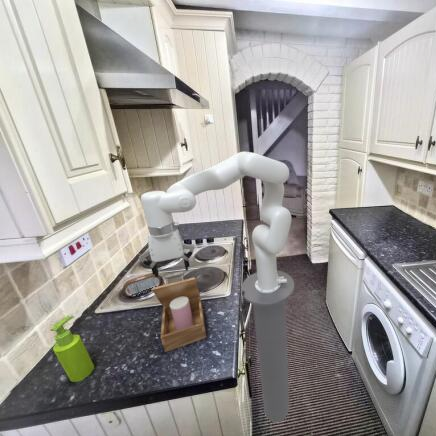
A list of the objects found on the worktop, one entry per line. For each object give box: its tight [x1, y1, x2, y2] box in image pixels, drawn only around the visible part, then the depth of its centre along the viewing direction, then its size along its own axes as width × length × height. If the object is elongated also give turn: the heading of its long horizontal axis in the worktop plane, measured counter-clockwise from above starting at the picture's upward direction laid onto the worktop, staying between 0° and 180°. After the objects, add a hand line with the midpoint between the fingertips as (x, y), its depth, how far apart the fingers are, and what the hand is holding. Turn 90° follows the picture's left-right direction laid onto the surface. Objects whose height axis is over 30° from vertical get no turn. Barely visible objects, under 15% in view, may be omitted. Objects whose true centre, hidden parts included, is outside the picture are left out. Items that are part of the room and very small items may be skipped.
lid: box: [151, 270, 201, 308], centre depth 87 cm, size 16×14×6 cm
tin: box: [122, 272, 162, 298], centre depth 107 cm, size 15×3×8 cm, turn 126°
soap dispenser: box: [49, 315, 95, 383], centre depth 69 cm, size 6×7×20 cm
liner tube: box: [170, 296, 194, 331], centre depth 85 cm, size 6×6×12 cm
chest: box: [160, 296, 207, 353], centre depth 86 cm, size 16×14×7 cm
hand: (172, 271), depth 82 cm, fingers open, 9 cm apart
